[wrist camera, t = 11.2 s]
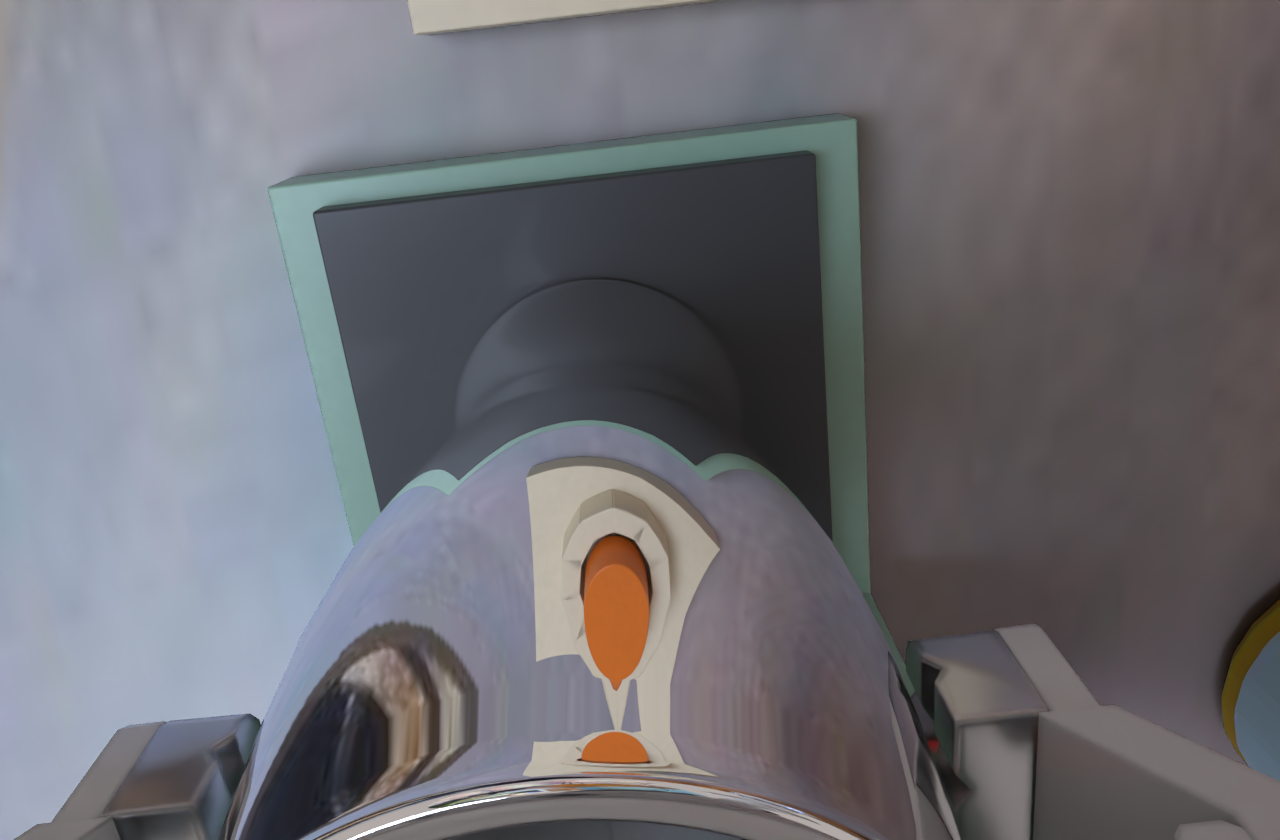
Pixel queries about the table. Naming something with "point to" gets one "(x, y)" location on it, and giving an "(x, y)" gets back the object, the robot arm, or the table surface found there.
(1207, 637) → the table surface
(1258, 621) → the bottle
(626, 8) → the control pad
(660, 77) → the table surface
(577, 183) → the mint green tower
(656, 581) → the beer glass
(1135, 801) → the robot arm
